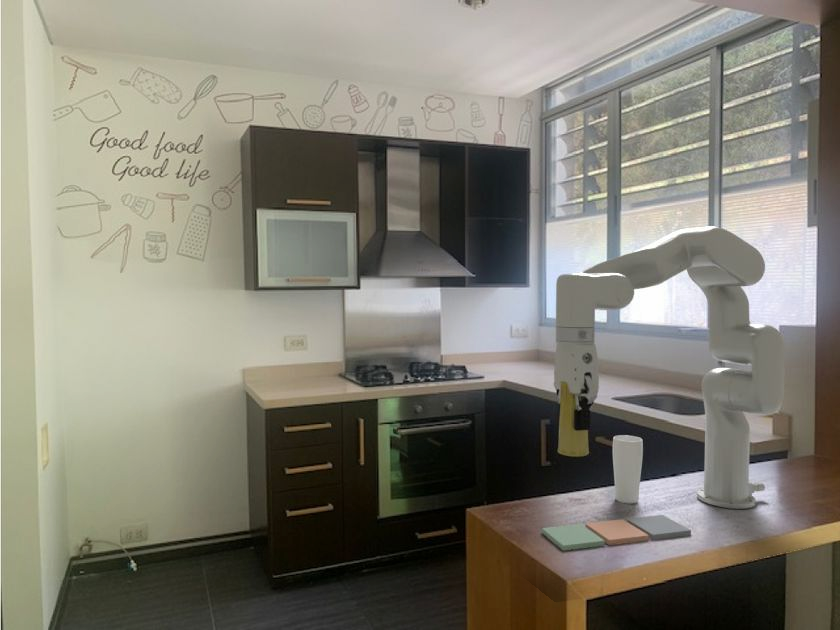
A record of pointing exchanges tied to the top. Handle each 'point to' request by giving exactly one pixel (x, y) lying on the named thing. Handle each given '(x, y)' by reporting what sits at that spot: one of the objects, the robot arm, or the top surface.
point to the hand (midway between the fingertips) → (573, 425)
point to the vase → (570, 427)
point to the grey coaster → (659, 527)
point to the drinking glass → (627, 467)
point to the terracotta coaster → (617, 532)
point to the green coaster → (573, 537)
